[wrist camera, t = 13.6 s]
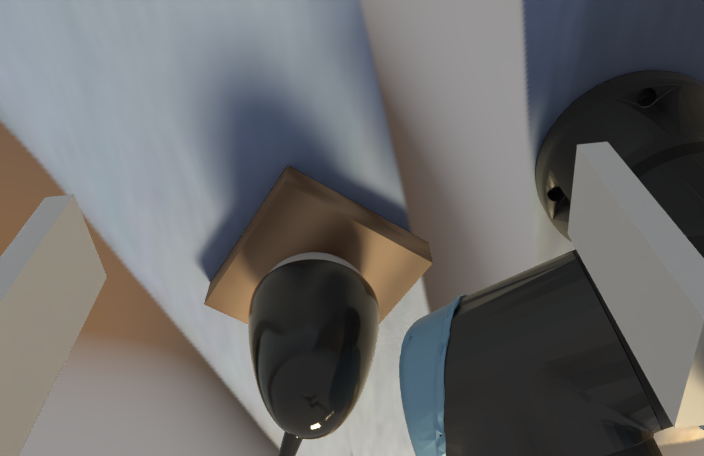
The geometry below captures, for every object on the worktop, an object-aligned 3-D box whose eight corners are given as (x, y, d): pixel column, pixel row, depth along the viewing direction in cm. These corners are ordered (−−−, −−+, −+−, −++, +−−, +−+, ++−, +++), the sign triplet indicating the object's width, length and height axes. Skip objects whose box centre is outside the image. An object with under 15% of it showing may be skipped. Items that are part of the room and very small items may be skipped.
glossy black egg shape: (239, 311, 54) (208, 461, 42) (277, 216, 49) (254, 354, 37) (349, 342, 57) (351, 494, 44) (395, 254, 51) (414, 397, 39)
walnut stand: (428, 242, 54) (432, 262, 52) (341, 344, 61) (341, 366, 58) (287, 165, 50) (284, 183, 48) (210, 282, 56) (204, 304, 54)
